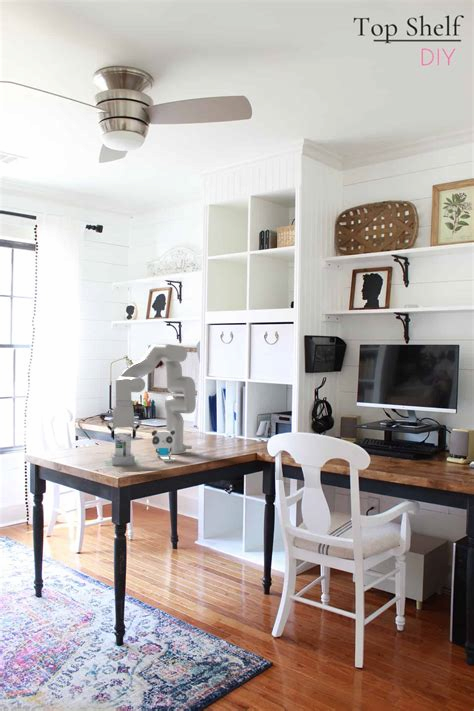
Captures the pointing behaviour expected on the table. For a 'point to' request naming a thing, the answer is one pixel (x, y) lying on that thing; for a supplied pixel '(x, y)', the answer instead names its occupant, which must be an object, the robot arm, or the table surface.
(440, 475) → the table surface
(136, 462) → the deck plate
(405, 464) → the table surface
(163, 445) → the panda figurine
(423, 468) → the table surface
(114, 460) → the chute collar
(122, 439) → the syrup box
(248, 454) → the table surface
